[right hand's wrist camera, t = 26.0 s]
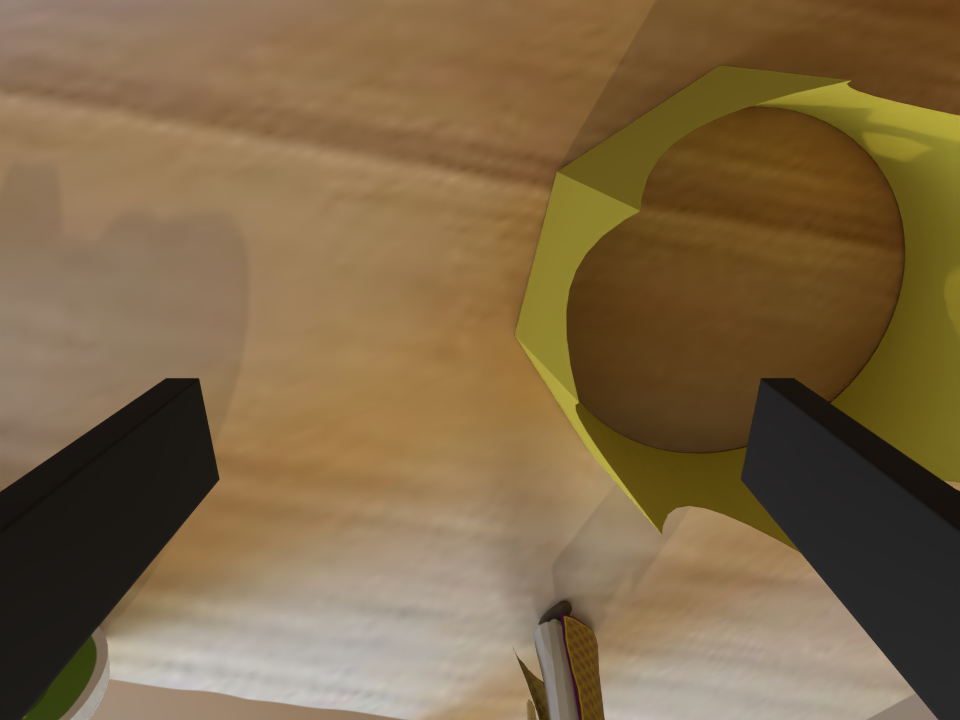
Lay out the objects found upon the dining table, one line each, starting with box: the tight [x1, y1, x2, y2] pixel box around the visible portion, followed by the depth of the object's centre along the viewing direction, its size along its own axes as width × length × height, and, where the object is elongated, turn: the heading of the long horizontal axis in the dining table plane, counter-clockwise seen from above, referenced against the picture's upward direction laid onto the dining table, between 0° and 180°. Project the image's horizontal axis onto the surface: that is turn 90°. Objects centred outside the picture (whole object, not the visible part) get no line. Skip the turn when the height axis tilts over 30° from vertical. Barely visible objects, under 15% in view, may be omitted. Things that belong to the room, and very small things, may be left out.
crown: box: [515, 65, 960, 553], centre depth 38 cm, size 36×36×15 cm
